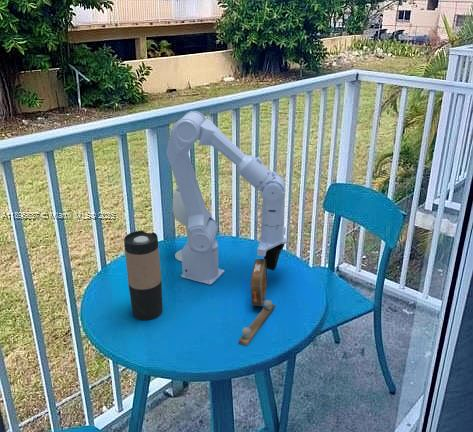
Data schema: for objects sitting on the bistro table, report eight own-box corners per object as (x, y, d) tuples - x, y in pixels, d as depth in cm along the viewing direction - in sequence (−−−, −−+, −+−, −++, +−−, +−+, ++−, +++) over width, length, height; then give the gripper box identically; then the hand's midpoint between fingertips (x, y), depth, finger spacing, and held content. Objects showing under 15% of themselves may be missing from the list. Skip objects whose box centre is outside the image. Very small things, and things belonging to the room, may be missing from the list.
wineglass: (172, 262, 138) (168, 194, 129) (177, 248, 146) (173, 183, 137) (202, 262, 137) (200, 194, 129) (205, 249, 145) (203, 183, 137)
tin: (262, 313, 114) (262, 283, 111) (249, 312, 115) (249, 282, 111) (267, 280, 128) (268, 253, 125) (256, 280, 128) (256, 252, 125)
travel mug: (136, 324, 110) (128, 247, 103) (127, 307, 117) (119, 234, 109) (168, 315, 114) (162, 240, 106) (157, 299, 120) (151, 227, 112)
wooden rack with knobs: (238, 343, 104) (238, 333, 103) (267, 305, 117) (267, 296, 116) (246, 345, 103) (247, 336, 102) (274, 307, 116) (275, 298, 115)
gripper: (276, 236, 114) (274, 285, 120) (296, 214, 126) (294, 259, 132) (249, 230, 117) (249, 278, 123) (272, 210, 129) (271, 254, 134)
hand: (271, 268), depth 127 cm, fingers closed
